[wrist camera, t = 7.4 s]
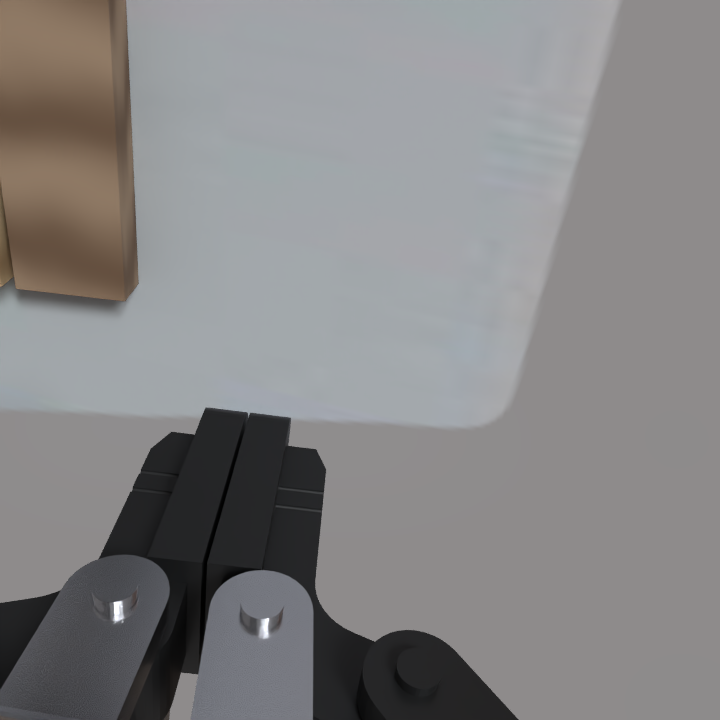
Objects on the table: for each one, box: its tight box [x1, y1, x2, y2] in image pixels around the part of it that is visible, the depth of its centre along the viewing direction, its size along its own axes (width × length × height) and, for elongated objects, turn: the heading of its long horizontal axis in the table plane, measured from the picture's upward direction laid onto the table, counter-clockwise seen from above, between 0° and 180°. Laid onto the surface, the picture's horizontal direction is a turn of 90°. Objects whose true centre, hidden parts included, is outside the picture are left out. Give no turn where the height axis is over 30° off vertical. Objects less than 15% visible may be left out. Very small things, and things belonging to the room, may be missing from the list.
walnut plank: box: [0, 0, 138, 301], centre depth 34 cm, size 20×6×2 cm, turn 173°
